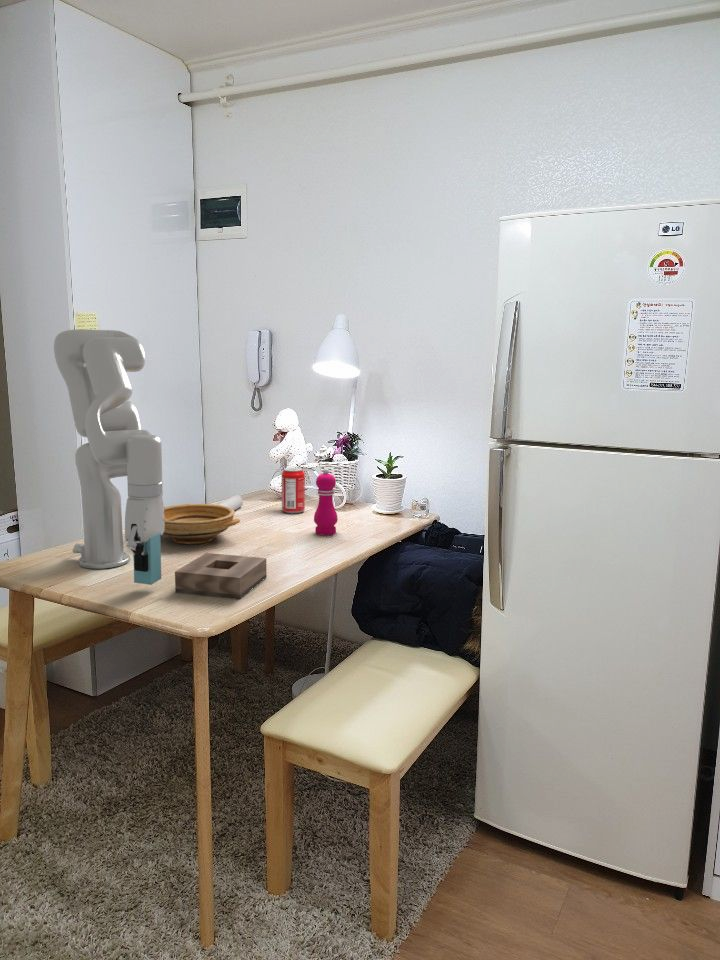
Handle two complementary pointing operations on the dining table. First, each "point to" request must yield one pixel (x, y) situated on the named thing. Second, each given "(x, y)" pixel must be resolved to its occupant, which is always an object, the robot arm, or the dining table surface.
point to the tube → (232, 502)
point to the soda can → (293, 490)
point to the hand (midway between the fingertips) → (147, 566)
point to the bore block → (220, 575)
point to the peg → (150, 562)
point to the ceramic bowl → (197, 522)
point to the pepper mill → (325, 505)
